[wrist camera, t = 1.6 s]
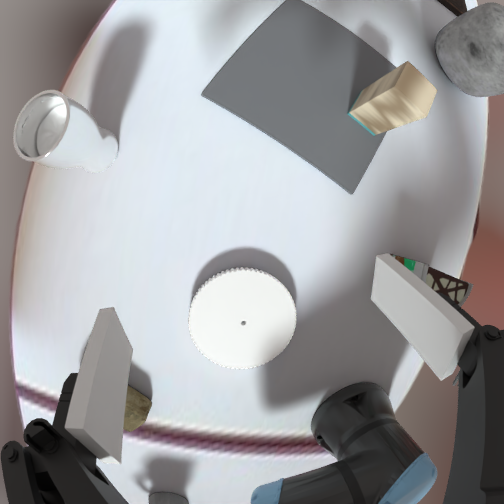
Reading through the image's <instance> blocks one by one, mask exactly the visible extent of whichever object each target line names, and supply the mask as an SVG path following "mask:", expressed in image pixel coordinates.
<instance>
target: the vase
mask: <svg viewBox="0 0 504 504" xmlns="http://www.w3.org/2000/svg"><path fill="white" fill-rule="evenodd" d="M435 49H436V54H437V57H438V60H439V62H440V64H441V66H442V68H443V70H444V72H445V73H446V75H447V76H448V77H449V79H450V80H451V81H452V82H453V83H454V84H455V85H456V86H457V87H458V88H459V89H460V90H461V91H463V92H464V93H466V94H468V95H471V96H475V97H487V96H494V95H499V94H504V6H502V5H500V4H497V3H485V4H482V5H479V6H477V7H475V8H473V9H471V10H469V11H467V12H465V13H463V14H462V15H460V16H458V17H457V18H455V19H454V20H453V21H451V22H450V23H448V24H447V25H446V26H445V27H444V28H443V29H442V30H441V31H440V32H439V33H438V35H437V37H436V41H435Z"/></svg>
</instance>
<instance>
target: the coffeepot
mask: <svg viewBox="0 0 504 504" xmlns="http://www.w3.org/2000/svg"><path fill="white" fill-rule="evenodd" d="M149 504H189V503H188V502H187V500H186V499H185V498H184V497H182V496H180V495H177V494H173V493H168V492H157V493H154V494H152V495H151V496H150V497H149Z"/></svg>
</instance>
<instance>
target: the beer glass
mask: <svg viewBox="0 0 504 504" xmlns="http://www.w3.org/2000/svg"><path fill="white" fill-rule="evenodd" d="M13 138H14V139H13V140H14V146H15V149H16V151H17V153H18V154H19V156H20V157H21V158H23V159H24V160H27V161H31V162H33V163H36V164H38V165H41V166H45V167H48V168H54V169H70V168H77V167H82V168H83V169H84V170H85V171H87V172H89V173H100V172H103V171H105V170H106V169H108V168H109V167H110V166H111V165H112V164H113V162H114V161H115V159H116V157H117V153H118V142H117V139H116V137H115V135H114V134H113V133H112V132H111V131H109V130H107V129H104V128H100V127H99V125H98V124H97V122H96V120H95V119H94V117H93V116H92V115H91V113H90V112H89V111H88V110H87V109H86V108H85V107H84V106H82V105H81V104H80V103H78V102H77V101H75V100H74V99H72V98H70V97H68V96H66V95H64V94H62V93H61V92H59V91H57V90H46V91H43V92H41V93H39V94H37V95H35V96H34V97H33V98H32V99H30V100H29V101H28V102H27V104H26V105H25V106H24V107H23V109H22V110H21V112H20V114H19V116H18V118H17V121H16V124H15V128H14V134H13Z"/></svg>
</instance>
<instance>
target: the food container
mask: <svg viewBox="0 0 504 504" xmlns="http://www.w3.org/2000/svg"><path fill="white" fill-rule="evenodd" d="M390 255H391V256H392V257H394V258H395V259H396V260H397V261H399V262H400V263H401V264H402V265H404V266H405V267H406V268H407V269H409V270H410V271H411V272H412V273H414V274H415V275H416V276H417V277H418V278H420V279H421V280H422V281H423V282H424V283H426V284H427V285H428V286H429V287H430V288H432V289H433V290H434V291H435V292H436V293H439V292H440V293H442V294H444V295H446V296H448V297H450V298H451V299H452V300H453V301H454V302H455V303H456V304H458V305H459V306H460V307H461V306H462V305H463V303H464V302H465V301H466V299H467V298H468V296H469V294H470V291H471V290H472V287H473V284H471V283H468V282H465V281H463V280H460V279H457V278H454V277H452V276H450V275H447V274H445V273H443V272H440V271H438V270H436V269H433V268H431V267H429V265H427V264H424V263H421V262H418V261H413V260H410V259H407V258H403V257H400V256H396V255H393V254H390Z"/></svg>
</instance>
